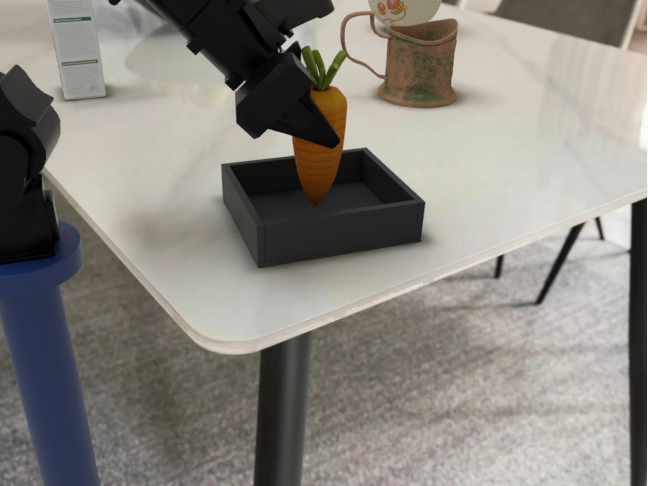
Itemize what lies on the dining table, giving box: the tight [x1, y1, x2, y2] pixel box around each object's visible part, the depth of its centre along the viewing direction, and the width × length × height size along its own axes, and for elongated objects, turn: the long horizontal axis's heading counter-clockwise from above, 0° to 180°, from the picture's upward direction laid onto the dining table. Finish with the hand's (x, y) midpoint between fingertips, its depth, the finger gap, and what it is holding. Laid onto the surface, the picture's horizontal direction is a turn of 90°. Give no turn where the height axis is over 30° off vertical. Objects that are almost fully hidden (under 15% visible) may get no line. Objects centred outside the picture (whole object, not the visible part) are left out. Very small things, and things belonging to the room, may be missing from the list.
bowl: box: [367, 0, 443, 33], centre depth 133 cm, size 16×16×10 cm
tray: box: [220, 147, 426, 268], centre depth 64 cm, size 15×13×4 cm
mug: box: [339, 10, 459, 109], centre depth 96 cm, size 12×18×12 cm, turn 104°
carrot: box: [291, 45, 349, 206], centre depth 60 cm, size 5×5×15 cm
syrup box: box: [45, 0, 107, 101], centre depth 93 cm, size 6×6×14 cm
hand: (332, 134), depth 61 cm, fingers closed on carrot, 5 cm apart
